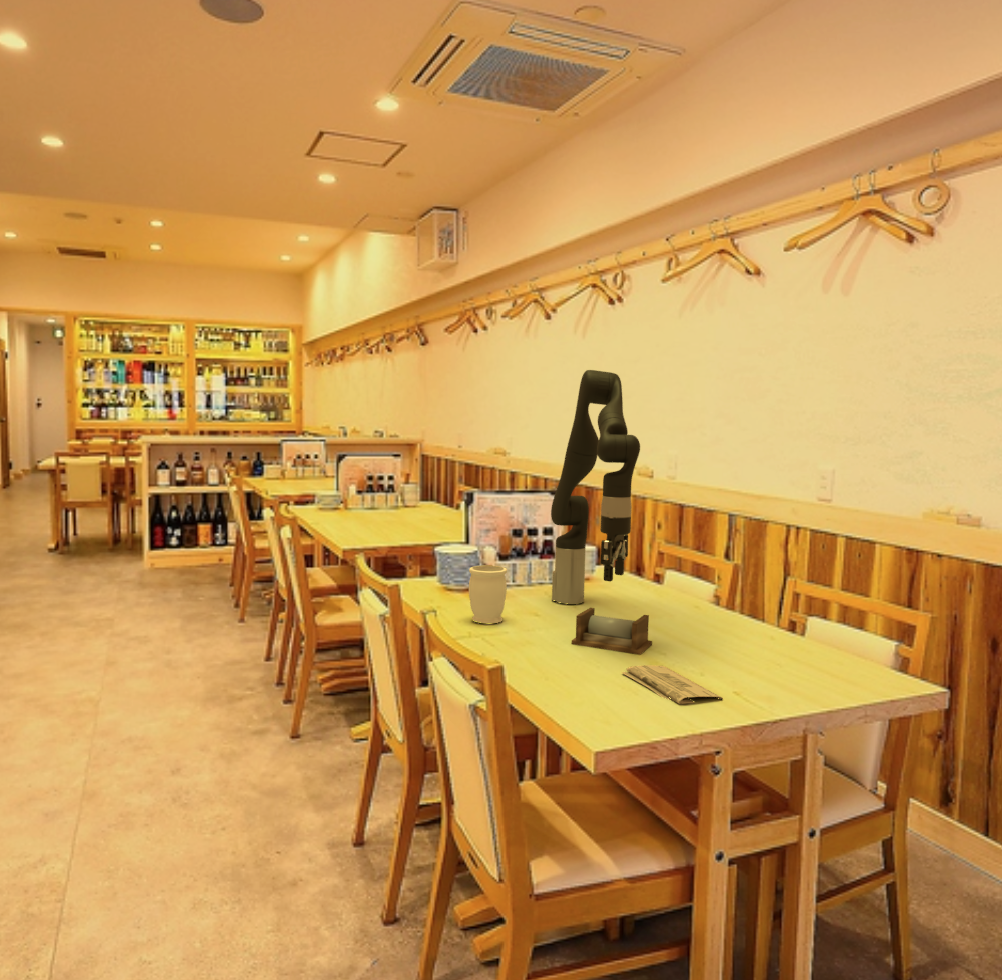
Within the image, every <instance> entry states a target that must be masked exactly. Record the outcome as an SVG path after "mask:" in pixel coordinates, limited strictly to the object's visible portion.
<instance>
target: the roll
mask: <svg viewBox="0 0 1002 980" xmlns="http://www.w3.org/2000/svg"><path fill="white" fill-rule="evenodd" d="M635 621H636V620H632V619H624V618H617V617H610V616H609V617H608V616H603V615H595V614H594V615H592V616H591V618H590V620H589V625H588V631H589V633H591V634H598V635H605V636H611V637H618V638H625V639H632V623H633V622H635Z"/></svg>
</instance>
